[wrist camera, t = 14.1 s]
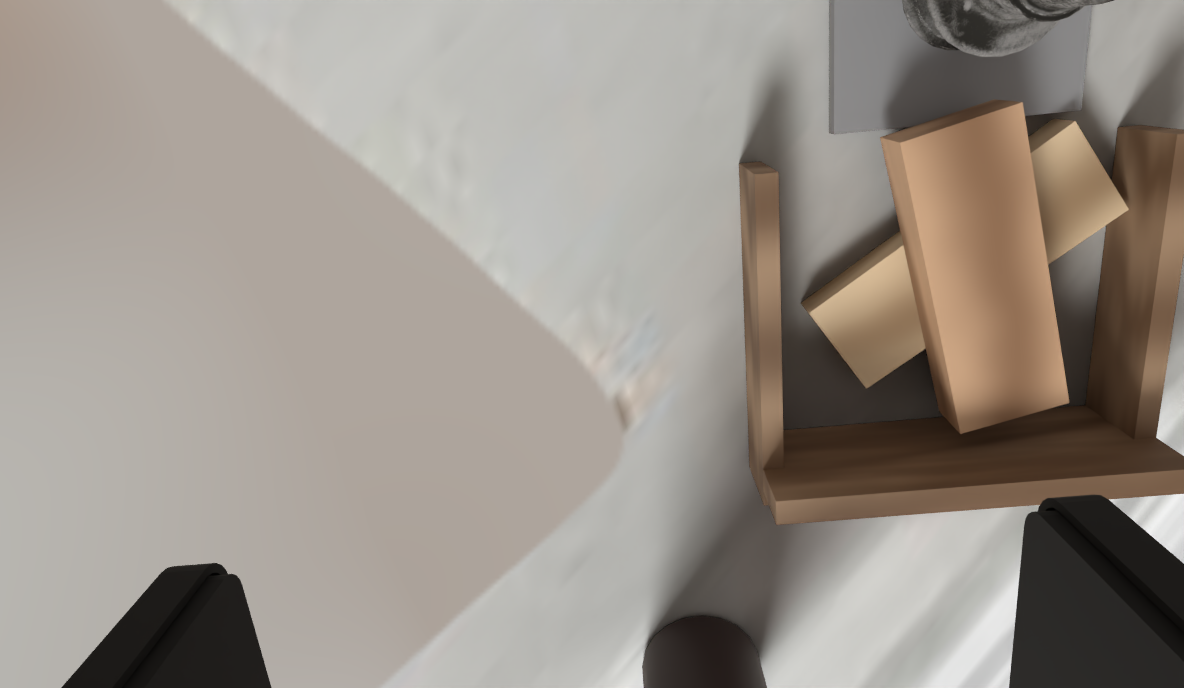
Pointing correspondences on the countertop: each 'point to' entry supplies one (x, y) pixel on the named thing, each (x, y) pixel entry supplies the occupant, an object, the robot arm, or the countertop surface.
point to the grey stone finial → (988, 22)
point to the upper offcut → (978, 263)
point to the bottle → (702, 656)
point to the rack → (1004, 450)
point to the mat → (940, 70)
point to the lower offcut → (882, 280)
